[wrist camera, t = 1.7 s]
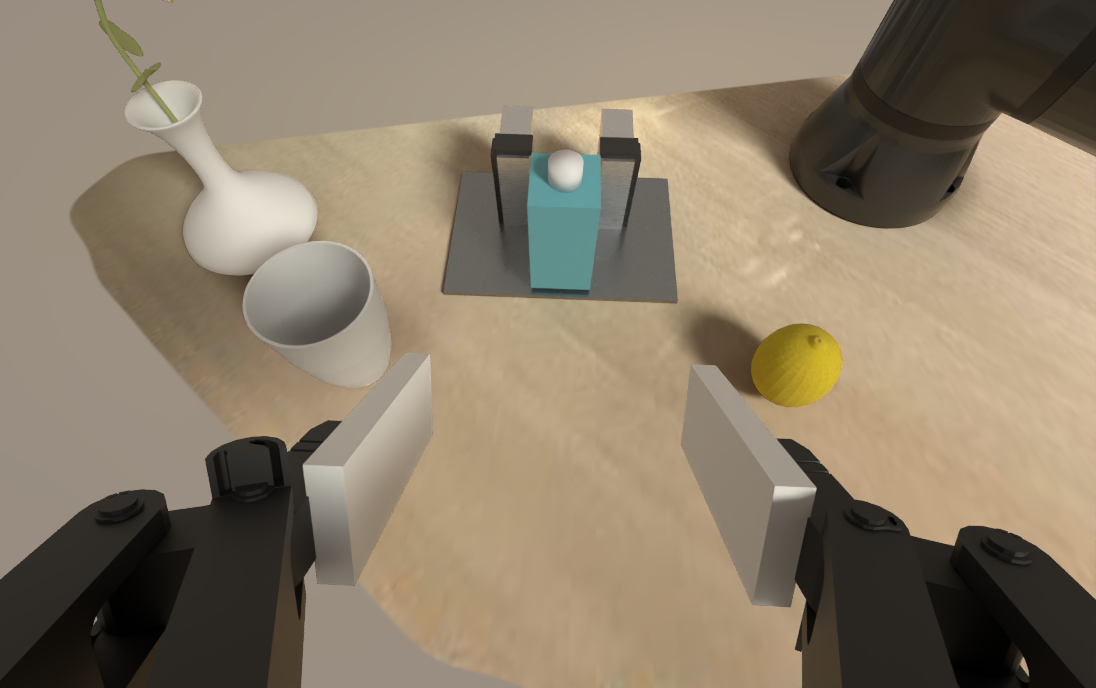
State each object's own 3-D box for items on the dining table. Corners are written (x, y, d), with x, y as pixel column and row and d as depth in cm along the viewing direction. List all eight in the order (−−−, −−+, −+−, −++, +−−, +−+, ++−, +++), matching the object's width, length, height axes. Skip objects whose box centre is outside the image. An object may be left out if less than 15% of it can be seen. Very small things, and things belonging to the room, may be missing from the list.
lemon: (745, 347, 42) (785, 294, 35) (813, 370, 41) (869, 320, 34) (729, 406, 40) (769, 361, 33) (802, 432, 39) (859, 392, 32)
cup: (321, 314, 44) (263, 238, 35) (416, 317, 44) (383, 242, 35) (296, 405, 40) (224, 346, 31) (400, 408, 40) (359, 350, 31)
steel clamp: (666, 181, 51) (688, 102, 43) (676, 303, 44) (705, 236, 36) (463, 174, 51) (448, 94, 43) (443, 294, 45) (421, 226, 37)
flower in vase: (337, 260, 46) (145, -64, 24) (204, 304, 44) (-141, -8, 22) (307, 163, 52) (127, -175, 30) (187, 197, 50) (-103, -139, 27)
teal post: (590, 243, 46) (602, 137, 36) (589, 289, 44) (603, 191, 34) (534, 240, 46) (530, 134, 36) (530, 287, 44) (526, 188, 34)
